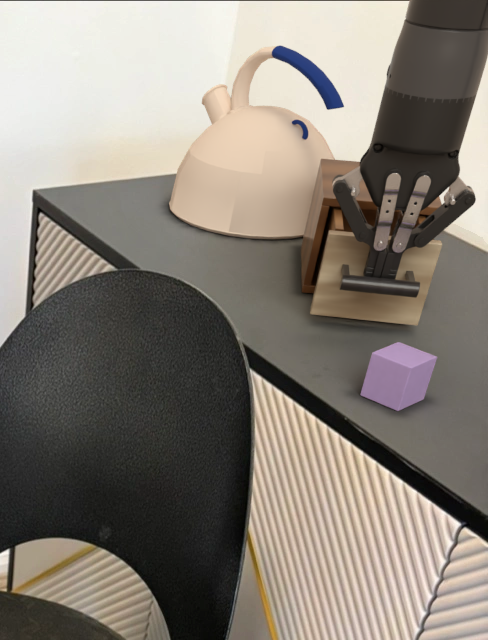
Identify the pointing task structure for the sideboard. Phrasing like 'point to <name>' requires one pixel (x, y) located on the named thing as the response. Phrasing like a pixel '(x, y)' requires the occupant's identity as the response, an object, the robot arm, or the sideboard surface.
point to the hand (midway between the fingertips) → (376, 288)
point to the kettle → (254, 159)
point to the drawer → (370, 292)
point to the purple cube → (398, 376)
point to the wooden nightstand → (320, 211)
